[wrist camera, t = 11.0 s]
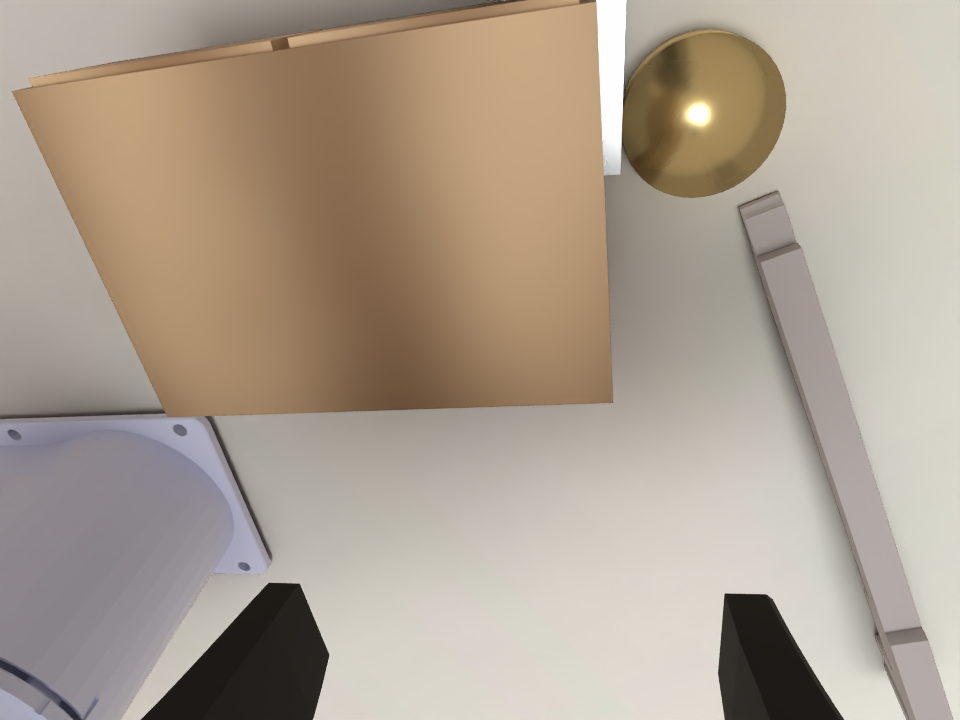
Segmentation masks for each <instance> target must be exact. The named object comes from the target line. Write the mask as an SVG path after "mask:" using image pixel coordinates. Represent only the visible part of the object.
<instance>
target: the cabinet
mask: <svg viewBox="0 0 960 720" xmlns="http://www.w3.org/2000/svg"><path fill="white" fill-rule="evenodd" d="M28 79H29V81H30V83H31V85H32V87H30V88H26V89H21V90H16V91H12V92H13V95H14V97H15V99H16V101H17V103H18V105H19V107H20V109H21V111H22V113H23V116H24V118H25V120H26V122H27V124H28V126H29V128H30V130H31V132H32V134H33V136H34V139H35V141H36V143H37V145H38V147H39V149H40V151H41V153H42V155H43V157H44V159H45V162H46V164H47V166H48V168H49V170H50V172H51V174H52V176H53V178H54V180H55V183H56V185H57V187H58V189H59V191H60V193H61V195H62V197H63V199H64V201H65V203H66V206H67V208H68V210H69V212H70V214H71V216H72V218H73V220H74V222H75V224H76V227H77V229H78V231H79V233H80V235H81V237H82V239H83V241H84V243H85V245H86V247H87V250H88V252H89V254H90V256H91V258H92V260H93V262H94V264H95V266H96V268H97V270H98V273H99V275H100V277H101V279H102V281H103V283H104V285H105V287H106V289H107V291H108V294H109V296H110V298H111V300H112V302H113V304H114V306H115V308H116V310H117V312H118V314H119V317H120V319H121V321H122V323H123V325H124V327H125V329H126V331H127V333H128V335H129V338H130V340H131V342H132V344H133V346H134V348H135V350H136V352H137V354H138V356H139V358H140V361H141V363H142V365H143V367H144V369H145V371H146V373H147V375H148V377H149V379H150V381H151V384H152V386H153V388H154V390H155V392H156V394H157V396H158V398H159V400H160V402H161V405H162V407H163V409H164V411H165V413H166V415H167V417H194V416H225V415H255V414H286V413H316V412H347V411H377V410H408V409H438V408H469V407H499V406H530V405H560V404H591V403H613V388H612V364H611V339H610V314H609V289H608V265H607V240H606V215H605V191H604V166H603V141H602V116H601V92H600V67H599V42H598V18H597V1H596V0H505V1H499V2H492V3H486V4H480V5H473V6H467V7H461V8H454V9H448V10H442V11H435V12H429V13H423V14H416V15H410V16H404V17H397V18H391V19H385V20H378V21H372V22H366V23H359V24H353V25H347V26H340V27H335V28H330V29H326V30H323V29H321V30H315V31H308V32H302V33H296V34H289V35H283V36H277V37H270V38H264V39H258V40H251V41H245V42H239V43H232V44H226V45H220V46H213V47H207V48H201V49H194V50H188V51H182V52H175V53H169V54H163V55H156V56H150V57H144V58H137V59H131V60H125V61H118V62H112V63H107V64H102V65H97V66H91V67H86V68H81V69H76V70H70V71H65V72H60V73H55V74H49V75H44V76H39V77H34V78H28Z"/></svg>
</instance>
